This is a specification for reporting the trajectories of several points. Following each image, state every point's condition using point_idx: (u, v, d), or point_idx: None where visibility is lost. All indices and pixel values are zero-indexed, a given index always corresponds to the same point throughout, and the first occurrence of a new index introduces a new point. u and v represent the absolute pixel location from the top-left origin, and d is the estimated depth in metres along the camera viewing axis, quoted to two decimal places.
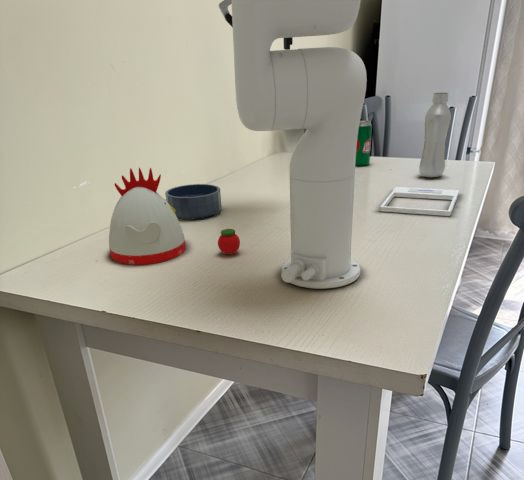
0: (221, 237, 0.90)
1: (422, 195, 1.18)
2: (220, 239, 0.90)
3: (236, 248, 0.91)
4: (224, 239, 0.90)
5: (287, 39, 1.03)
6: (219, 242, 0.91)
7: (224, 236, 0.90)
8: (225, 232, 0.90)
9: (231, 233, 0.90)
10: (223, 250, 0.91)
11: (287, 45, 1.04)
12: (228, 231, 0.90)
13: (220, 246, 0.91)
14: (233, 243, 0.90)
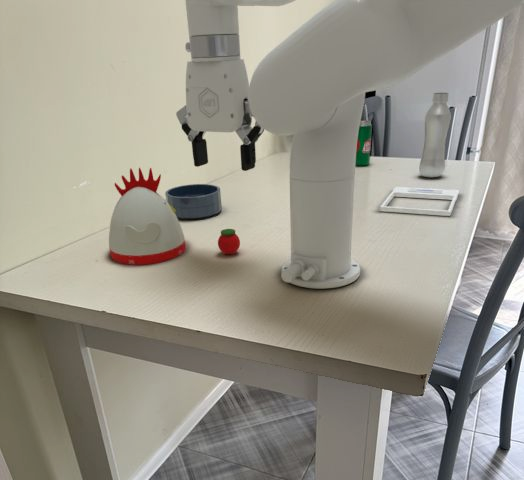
0: (221, 237, 0.90)
1: (422, 195, 1.18)
2: (220, 239, 0.90)
3: (236, 248, 0.91)
4: (224, 239, 0.90)
5: (241, 159, 0.82)
6: (219, 242, 0.91)
7: (224, 236, 0.90)
8: (225, 232, 0.90)
9: (231, 233, 0.90)
10: (223, 250, 0.91)
11: (242, 166, 0.83)
12: (228, 231, 0.90)
13: (220, 246, 0.91)
14: (233, 243, 0.90)
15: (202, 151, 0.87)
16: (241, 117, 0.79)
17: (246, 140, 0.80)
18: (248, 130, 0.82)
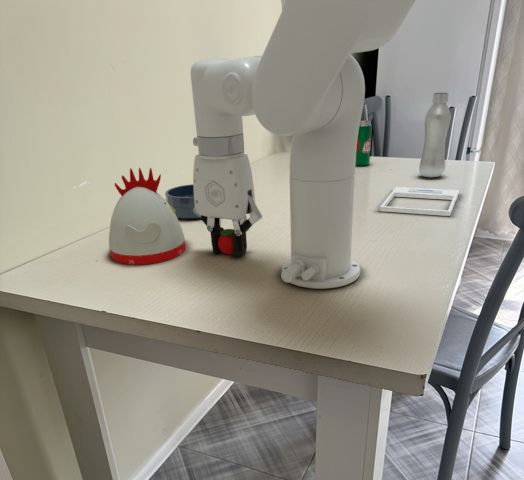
0: (221, 237, 0.90)
1: (422, 195, 1.18)
2: (220, 239, 0.90)
3: None
4: (224, 239, 0.90)
5: (234, 247, 0.90)
6: (219, 242, 0.91)
7: (224, 236, 0.90)
8: (225, 232, 0.90)
9: (231, 233, 0.90)
10: (223, 250, 0.91)
11: (234, 253, 0.90)
12: (228, 231, 0.90)
13: (220, 246, 0.91)
14: (232, 243, 0.90)
15: None
16: (245, 207, 0.85)
17: (238, 232, 0.88)
18: (243, 220, 0.89)
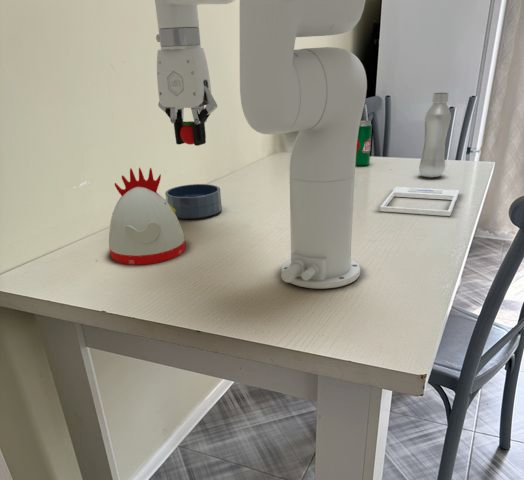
0: (182, 127, 1.03)
1: (422, 195, 1.18)
2: (182, 129, 1.03)
3: None
4: (185, 128, 1.02)
5: (194, 136, 1.02)
6: (181, 132, 1.03)
7: (185, 126, 1.02)
8: (186, 122, 1.02)
9: (191, 123, 1.02)
10: (184, 139, 1.03)
11: (194, 141, 1.03)
12: (189, 122, 1.03)
13: (182, 136, 1.03)
14: (192, 132, 1.02)
15: None
16: (202, 95, 0.97)
17: (196, 120, 1.00)
18: None
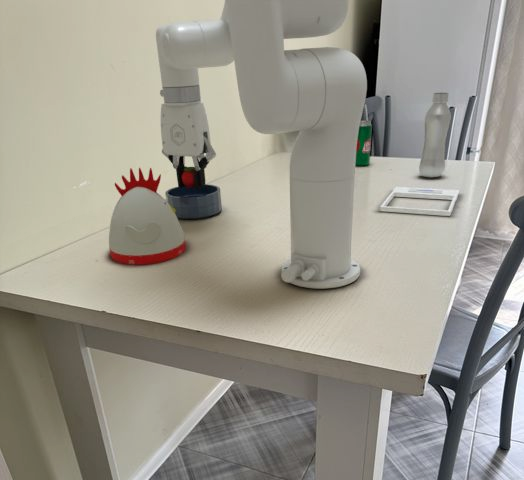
0: (184, 173, 1.11)
1: (422, 195, 1.18)
2: (183, 174, 1.11)
3: None
4: (186, 174, 1.11)
5: (194, 181, 1.11)
6: (182, 177, 1.12)
7: (186, 172, 1.11)
8: (187, 168, 1.11)
9: (192, 169, 1.11)
10: (186, 183, 1.12)
11: (195, 186, 1.11)
12: (190, 168, 1.11)
13: (183, 180, 1.12)
14: (193, 177, 1.11)
15: None
16: (202, 145, 1.06)
17: (197, 167, 1.09)
18: (201, 158, 1.10)
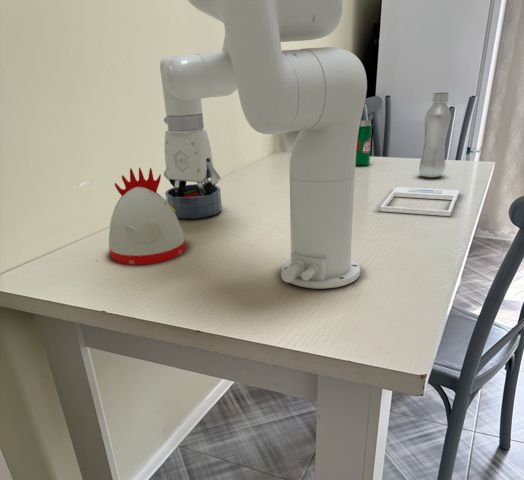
0: (185, 196, 1.14)
1: (422, 195, 1.18)
2: None
3: None
4: None
5: None
6: None
7: (187, 195, 1.14)
8: (187, 192, 1.14)
9: (191, 191, 1.14)
10: None
11: None
12: (190, 191, 1.14)
13: None
14: None
15: None
16: (205, 171, 1.08)
17: (202, 191, 1.11)
18: (206, 183, 1.12)
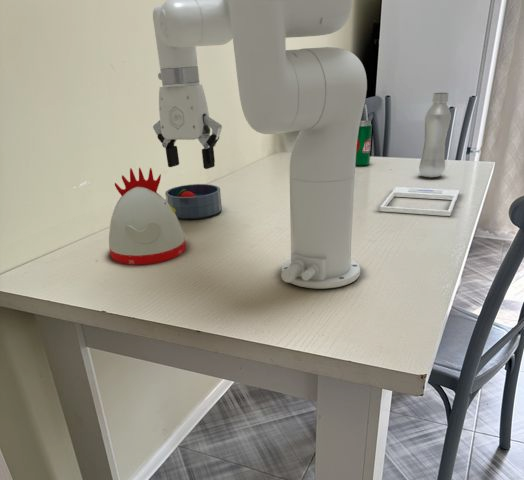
0: None
1: (422, 195, 1.18)
2: None
3: (191, 196, 1.15)
4: (180, 196, 1.15)
5: (203, 160, 1.07)
6: None
7: (179, 196, 1.16)
8: None
9: (182, 190, 1.15)
10: None
11: (204, 165, 1.07)
12: None
13: None
14: (186, 194, 1.15)
15: (174, 155, 1.12)
16: (201, 128, 1.03)
17: (206, 145, 1.05)
18: (208, 138, 1.06)
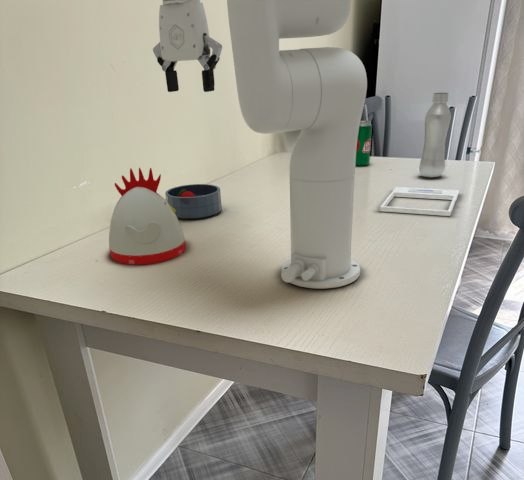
0: None
1: (422, 195, 1.18)
2: None
3: (191, 196, 1.15)
4: (180, 196, 1.15)
5: (203, 82, 1.06)
6: None
7: (179, 196, 1.16)
8: None
9: (182, 190, 1.15)
10: None
11: (203, 88, 1.07)
12: None
13: None
14: (186, 194, 1.15)
15: (173, 79, 1.11)
16: (201, 47, 1.03)
17: (206, 66, 1.05)
18: (208, 59, 1.06)
